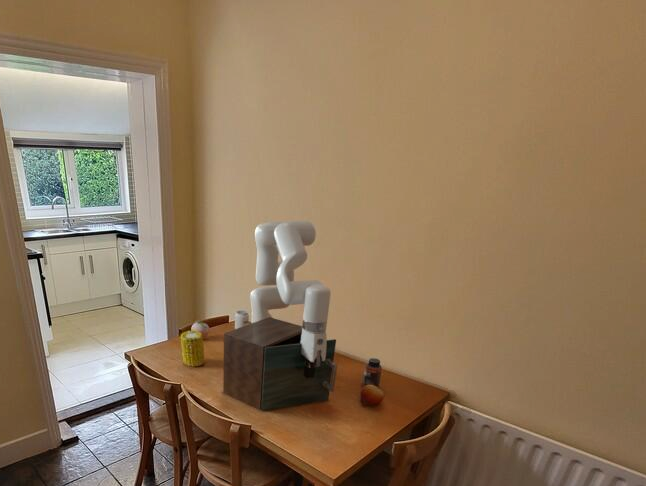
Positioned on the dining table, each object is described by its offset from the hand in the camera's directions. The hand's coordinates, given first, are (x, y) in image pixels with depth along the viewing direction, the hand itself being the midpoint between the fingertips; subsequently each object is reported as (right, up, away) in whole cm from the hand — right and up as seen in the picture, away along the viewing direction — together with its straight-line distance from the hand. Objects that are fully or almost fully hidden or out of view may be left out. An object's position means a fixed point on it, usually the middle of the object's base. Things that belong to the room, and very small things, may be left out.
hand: (308, 376), depth 138 cm
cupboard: (-13, -5, +20) cm, 24 cm away
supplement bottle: (+29, -5, +21) cm, 36 cm away
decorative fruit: (-38, +17, +68) cm, 80 cm away
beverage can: (-17, +20, +74) cm, 79 cm away
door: (-2, -11, +6) cm, 13 cm away
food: (-41, +5, +42) cm, 59 cm away
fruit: (+25, -10, +9) cm, 28 cm away
